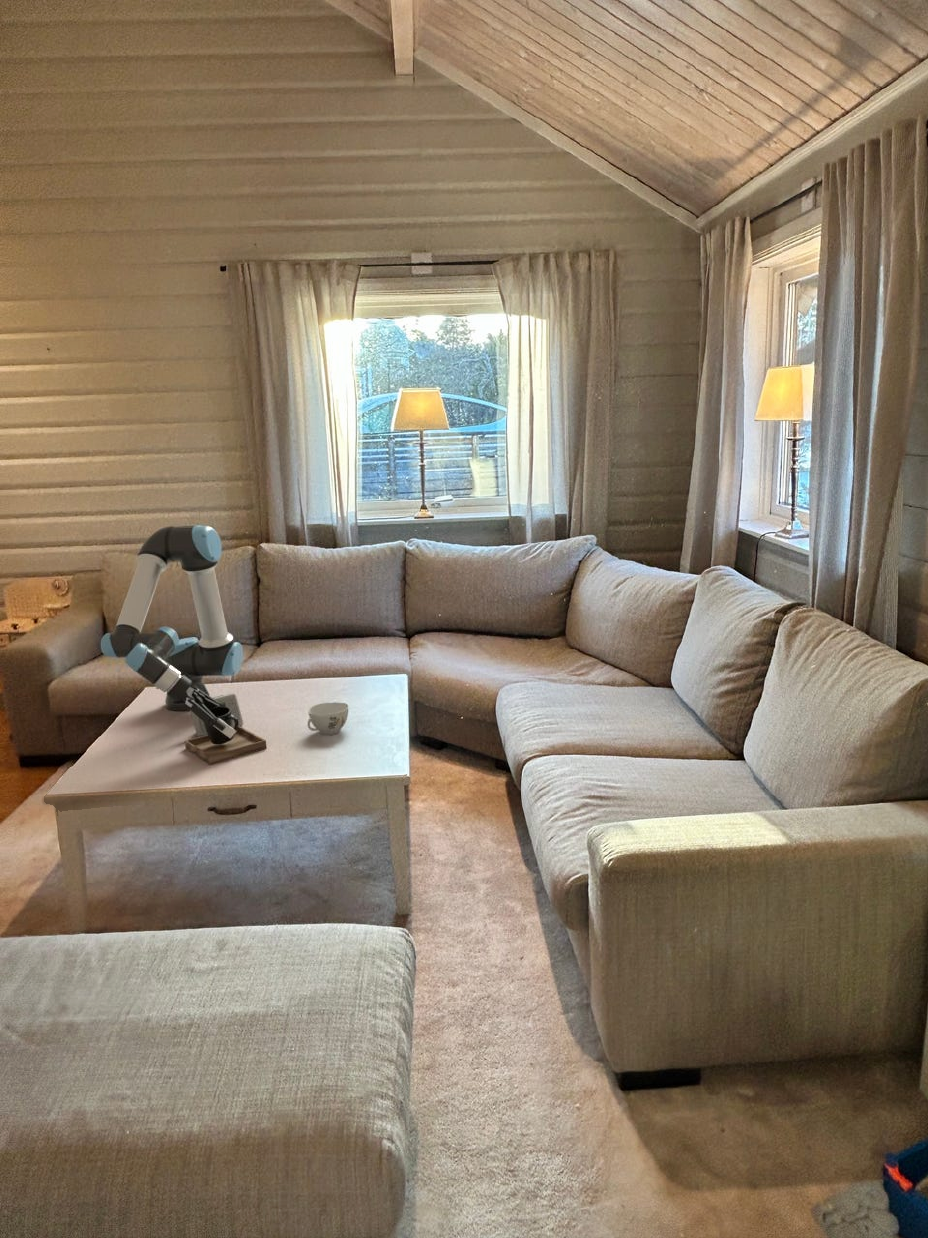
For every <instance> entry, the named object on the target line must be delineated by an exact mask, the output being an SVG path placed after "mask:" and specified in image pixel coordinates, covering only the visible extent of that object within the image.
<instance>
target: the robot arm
mask: <svg viewBox="0 0 928 1238" xmlns="http://www.w3.org/2000/svg"><path fill="white" fill-rule="evenodd" d="M222 549H223V545H222V541H221V538H220V535H219V533H218V532H217V531H216V530H215V529H214V528H213V527H211V526H209V525H199V524H197V525H184V526H183V525H181V526H179V525H177V526H173V525H171V526H165V527H162V528H159V529H158V530H155V532H153V533H152V534H150V536H149V537H148V538H147V539H146V540H145V541H144V542H143V544H142V546H141V547H140V549H139V551H138V553H137V555H136V559H135V561H136V563H137V566H136V569H135V572H134V574H133V577H132V580H131V582H130V586H129V589H128V592H127V594H126V596H125V599H124V602H123V605H122V608H121V611H120V614H119V616H118V619H117V622H116V624H115V627H114V630H113V632H107V633H105V634H104V635H103V636H102V638H101V639H100V648H101V649H100V650H101V652H102V654H103V655H104V656H105V657H107V658H115V659H123V658H124V663H125V664H126V665H127V666H128V667H129V668H130V669H131V670H132V671H134V672H135V673H137V674H138V675H140V676H141V677H143V678H144V679H145V680H147V682H150V683H151V684H152V685H153V686H155V689H156V690H160V691H161V692H163V693H166V696H165V709H167V710H169V711H170V710H171V711H179V712H180V711H182V712H183V711H190V710H191V711H192V712H193V713H194V714H195V715H197V716H198V717H199V718H200V719H201V720H202V721H203V722H205V723H206V724H207V725H208V726H209V727H210V728H211V727H212V726H214V727H215V728H217V729H218V730H219V731H221V732H222V733H223V734H225V735H226V736H228V737H229V738H231V737H232V736H233V735H234V734H235V733H236V730H234V729H233V728H232V727H234V726H235V722H234V720H232V727H230V726H229V725H228V724H226V723H225V722H224V721H222V720H221V719H220V718H218V719H217V718H216V717H215V716H214V714H213V713H212V712H211V711H210V710H209V708H212V707H218V706H223V704H222V703H220V702H218V701H216V700H215V699H213V698H214V697H212V696H211V694H210V693H209V691H208V687H207V686H206V684H205V682H204V680H203V677H223V678H224V677H234V676H235V675H237V673H239V671H240V670H241V667H242V664H243V658H244V655H243V654H244V650H243V645H242V644H241V643H240V642H238V641H235V640H234V636H233V634H232V633H230V632H229V631H228V628H227V623H226V619H225V614H224V609H223V605H222V600H221V595H220V589H219V585H218V584H219V583H218V579H217V576H216V575H217V574H216V570H215V568H216V567H217V565H218V563H219V562H218V561H220V559H221V557H222V553H223V552H222ZM171 563H180V565H181V569H182V571H183V572H185V573H187V574H188V581H189V584H190V589H191V593H192V598H193V602H194V608H195V611H196V612H195V613H196V616H197V621H198V625H199V629H200V635H201V637H200V639H198V637H196V636H195V637H192V636H191V637H185V638H181V639H180V638H179V635H178V634H179V633H177V631H176V630H175V629H174V628H171V627H169V626H162V627H159V628H158V629H156V630H155V631H154V632H142V629H143V627H144V624H145V620H146V618H147V615H148V613H149V609H150V606H151V603H152V601H153V597H154V596H155V595H154V594H155V592H156V589H157V586H158V584H159V580H160V577H161V575H162V573H163V572H165V571H166V569H167V567H168V565H169V564H171ZM191 711H190V712H191ZM231 716H232V717H234V716H233V715H231Z"/></svg>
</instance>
